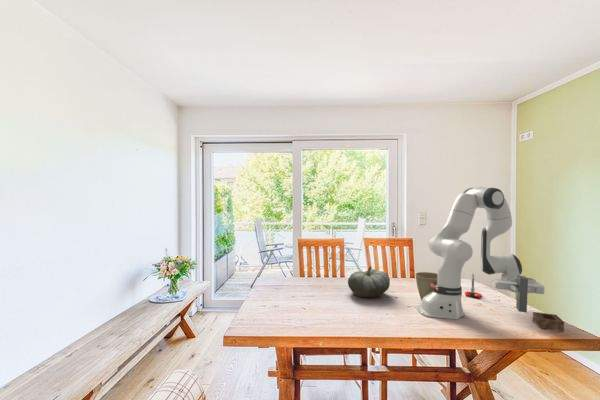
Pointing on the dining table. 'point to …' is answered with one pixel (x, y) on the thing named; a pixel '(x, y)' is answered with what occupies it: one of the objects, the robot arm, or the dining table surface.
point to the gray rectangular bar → (522, 294)
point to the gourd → (369, 283)
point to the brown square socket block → (548, 321)
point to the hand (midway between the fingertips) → (522, 290)
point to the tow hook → (472, 293)
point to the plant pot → (425, 283)
